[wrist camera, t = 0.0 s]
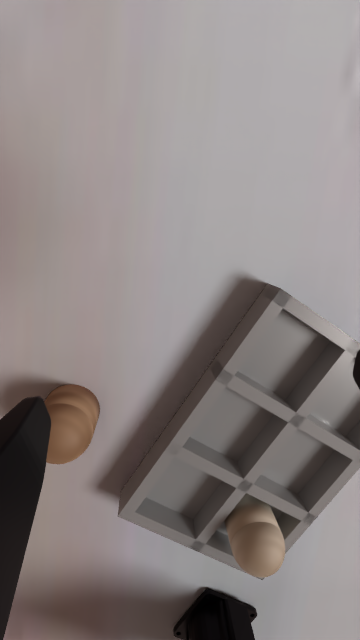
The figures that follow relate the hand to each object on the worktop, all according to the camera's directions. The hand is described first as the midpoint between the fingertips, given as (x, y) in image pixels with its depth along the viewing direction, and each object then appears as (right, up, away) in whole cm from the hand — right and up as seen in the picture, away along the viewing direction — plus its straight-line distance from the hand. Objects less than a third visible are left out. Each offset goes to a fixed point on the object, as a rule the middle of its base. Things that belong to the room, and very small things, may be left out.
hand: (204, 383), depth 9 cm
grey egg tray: (+6, -8, +19) cm, 21 cm away
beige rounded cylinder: (+6, -16, +20) cm, 26 cm away
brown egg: (-9, -5, +17) cm, 20 cm away
